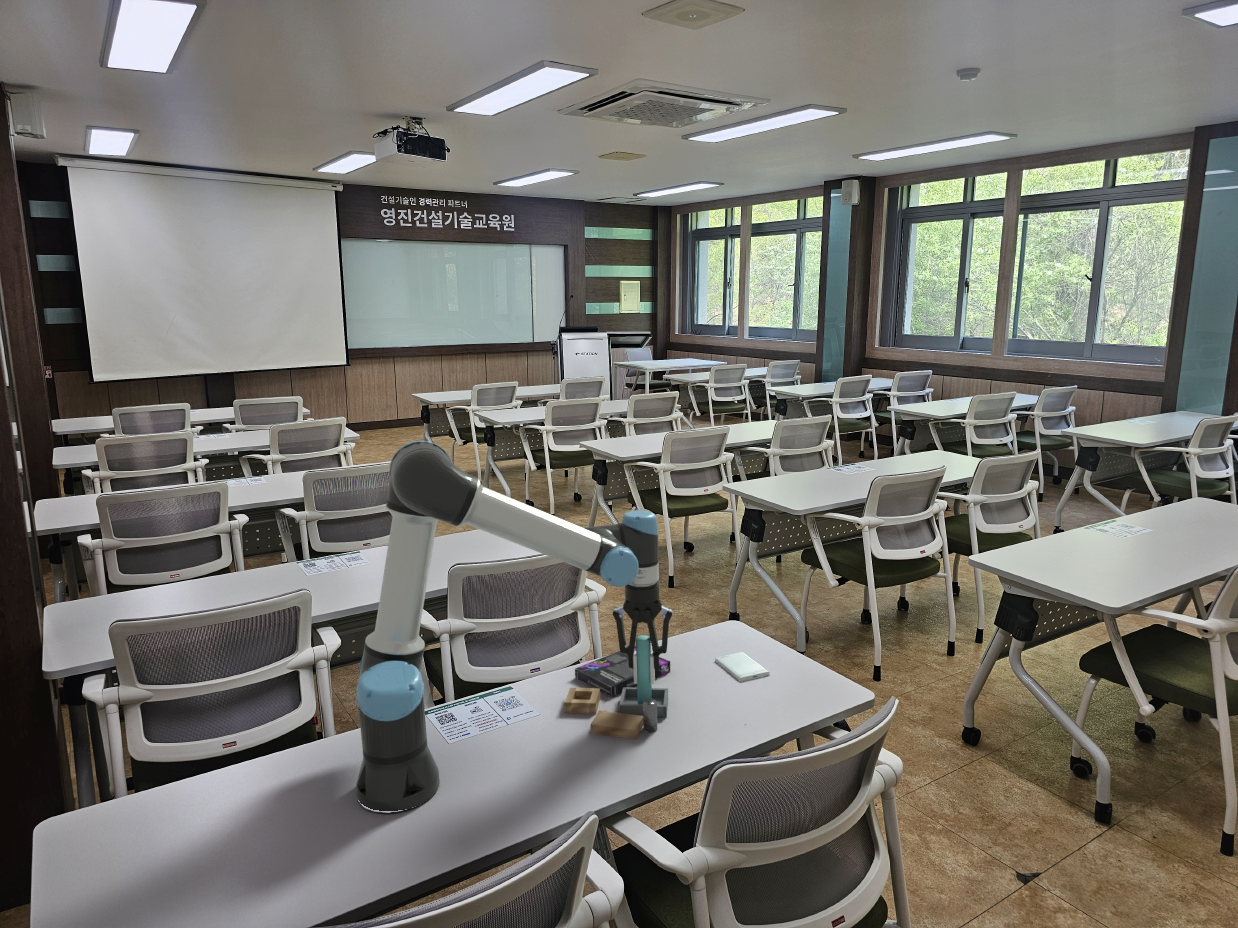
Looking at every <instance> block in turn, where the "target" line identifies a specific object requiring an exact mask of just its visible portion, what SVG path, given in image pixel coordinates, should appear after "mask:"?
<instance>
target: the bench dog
mask: <svg viewBox="0 0 1238 928" xmlns="http://www.w3.org/2000/svg"><path fill="white" fill-rule="evenodd" d="M642 729H643V731H645V732H647V733H654V732H657V731H658V717H657V701H656V700H653V699H647V700H645V701H643V727H642Z"/></svg>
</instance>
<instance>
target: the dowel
mask: <svg viewBox="0 0 1238 928" xmlns="http://www.w3.org/2000/svg"><path fill="white" fill-rule="evenodd" d="M635 647H636V655H637V679H638V683H637V687H636V688H637V694H638V704H643V701H645V700H647V699H652V688H653V687H652V685H653V684H651V677H650V655H651V651H652V645H651V640H650V635H639V636H636V641H635Z"/></svg>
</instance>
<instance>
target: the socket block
mask: <svg viewBox="0 0 1238 928" xmlns="http://www.w3.org/2000/svg"><path fill="white" fill-rule="evenodd" d="M600 701H601V691H600V688H593V687H569V690H568V692H567V694H566V698H565V700H564V713H566V714H591V715H592V714H594V715H595V714H596V715H597V713H598V708H599V704H600Z"/></svg>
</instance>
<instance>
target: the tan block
mask: <svg viewBox="0 0 1238 928" xmlns="http://www.w3.org/2000/svg"><path fill="white" fill-rule="evenodd" d="M642 729H643V716H640V715H632V714H624V713H619V712H615V711H605V710H598V711H597V712H596V715H595V717H594V718H593V720H592V721H591V723H590V734H594V735H601V736H609V737H614V738H615V737H616V738H617V737H618V738H622V739H623V738H624V739H631V740H637V739H638V737H639V735H640V733H641V732H642Z"/></svg>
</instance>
